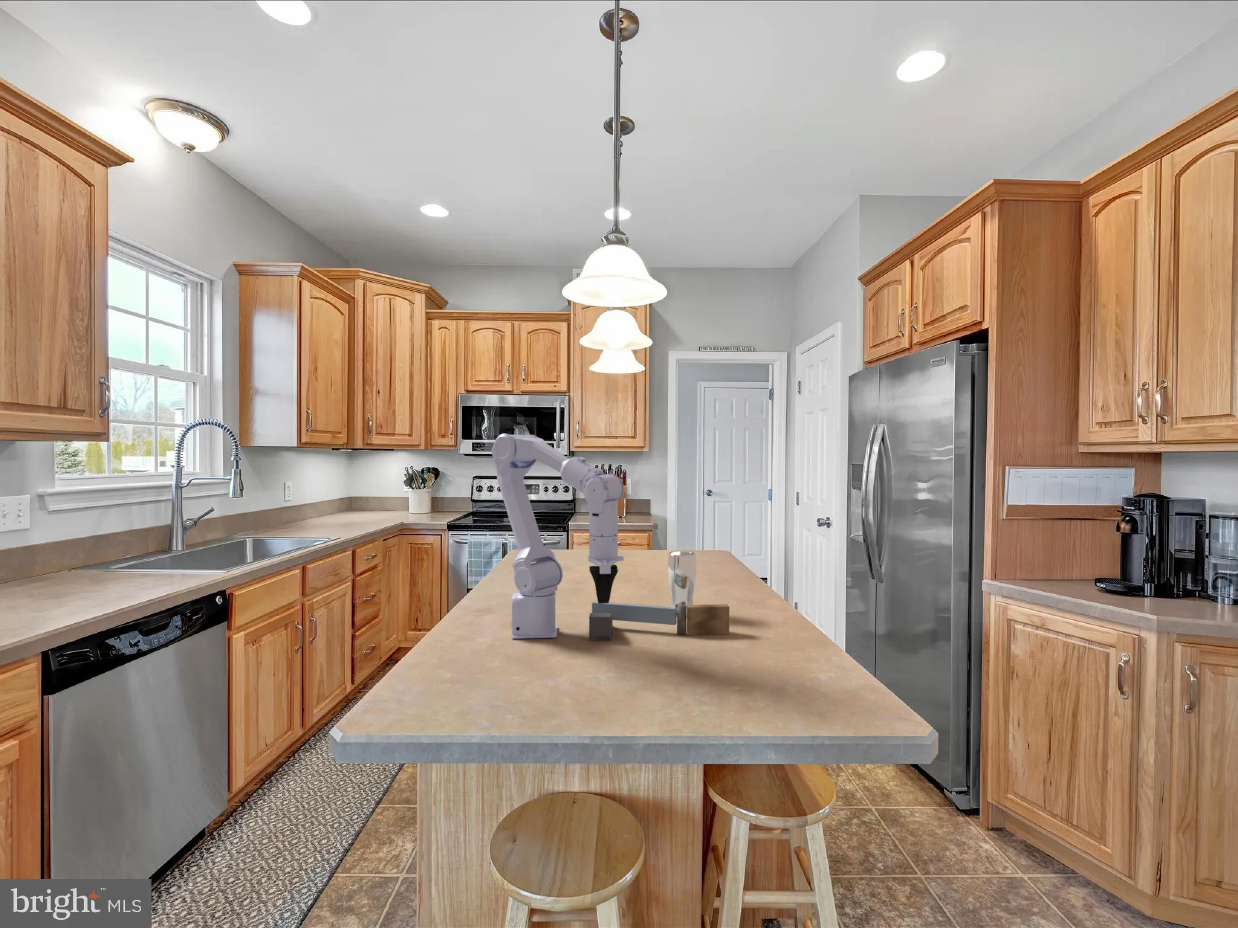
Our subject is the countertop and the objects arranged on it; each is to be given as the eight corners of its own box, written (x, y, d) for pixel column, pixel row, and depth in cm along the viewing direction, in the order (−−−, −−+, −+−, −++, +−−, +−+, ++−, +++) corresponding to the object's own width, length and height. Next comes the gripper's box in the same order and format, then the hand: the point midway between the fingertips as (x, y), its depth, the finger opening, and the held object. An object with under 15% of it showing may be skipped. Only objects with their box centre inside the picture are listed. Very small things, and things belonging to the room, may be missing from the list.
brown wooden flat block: (677, 635, 124) (678, 607, 124) (676, 632, 126) (676, 605, 126) (729, 633, 125) (729, 606, 125) (726, 631, 127) (726, 604, 127)
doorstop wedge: (610, 640, 120) (610, 616, 120) (589, 640, 120) (589, 616, 120) (612, 626, 130) (612, 604, 130) (592, 626, 130) (592, 604, 130)
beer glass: (697, 618, 137) (698, 555, 136) (668, 618, 137) (668, 555, 137) (694, 610, 144) (694, 550, 143) (666, 610, 144) (666, 550, 143)
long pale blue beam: (591, 618, 130) (591, 602, 130) (594, 616, 131) (594, 601, 131) (675, 625, 125) (675, 609, 125) (676, 623, 126) (676, 607, 126)
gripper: (626, 540, 108) (626, 612, 108) (620, 529, 122) (620, 593, 123) (589, 540, 107) (588, 612, 108) (587, 529, 122) (587, 593, 122)
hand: (603, 602), depth 115 cm, fingers closed
